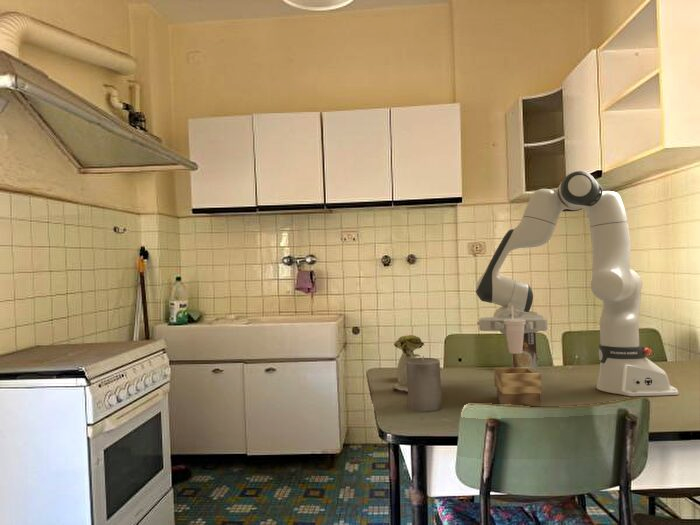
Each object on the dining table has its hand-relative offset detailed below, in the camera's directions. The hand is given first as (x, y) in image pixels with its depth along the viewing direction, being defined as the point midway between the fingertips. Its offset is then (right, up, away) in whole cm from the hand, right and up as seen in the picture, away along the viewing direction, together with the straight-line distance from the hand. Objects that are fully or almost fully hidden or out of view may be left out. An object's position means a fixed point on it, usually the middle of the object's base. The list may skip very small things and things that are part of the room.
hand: (515, 326), depth 154 cm
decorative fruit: (-26, -24, +36) cm, 50 cm away
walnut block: (+1, -23, 0) cm, 23 cm away
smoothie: (0, -8, +1) cm, 8 cm away
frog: (-28, -24, +18) cm, 41 cm away
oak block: (+1, -19, 0) cm, 19 cm away
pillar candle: (-27, -23, -4) cm, 36 cm away
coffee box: (+19, -23, +48) cm, 57 cm away
